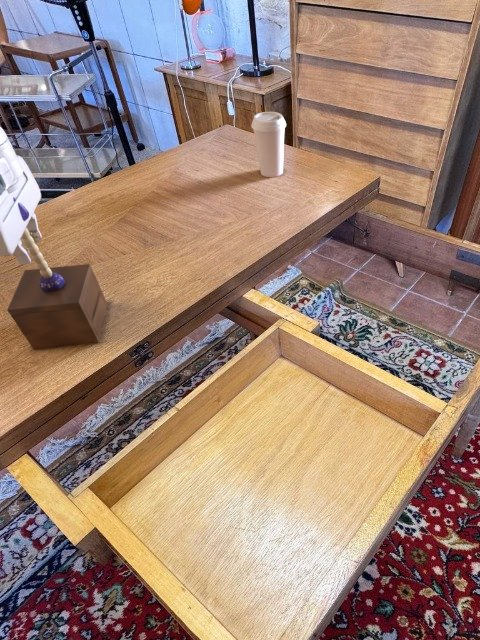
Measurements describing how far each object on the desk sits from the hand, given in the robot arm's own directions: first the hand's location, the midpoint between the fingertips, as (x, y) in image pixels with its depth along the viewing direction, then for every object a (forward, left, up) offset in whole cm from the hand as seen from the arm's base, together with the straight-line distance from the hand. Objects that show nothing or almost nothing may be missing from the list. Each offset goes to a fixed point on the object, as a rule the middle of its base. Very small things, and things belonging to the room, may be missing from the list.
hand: (32, 251), depth 74 cm
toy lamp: (0, 0, -7) cm, 7 cm away
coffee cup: (+46, +62, -17) cm, 79 cm away
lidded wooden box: (0, 0, -17) cm, 17 cm away
